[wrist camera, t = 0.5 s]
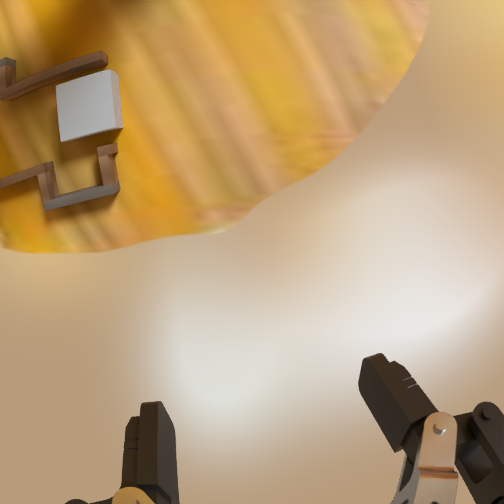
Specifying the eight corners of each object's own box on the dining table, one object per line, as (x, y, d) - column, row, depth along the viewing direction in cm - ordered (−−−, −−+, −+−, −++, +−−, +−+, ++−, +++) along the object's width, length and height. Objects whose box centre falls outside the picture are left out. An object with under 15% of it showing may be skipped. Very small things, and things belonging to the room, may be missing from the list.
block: (68, 89, 25) (55, 85, 21) (118, 75, 25) (110, 68, 22) (73, 140, 27) (60, 142, 24) (123, 127, 28) (115, 127, 25)
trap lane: (-38, 91, 20) (-50, 91, 17) (106, 25, 22) (100, 18, 20) (-19, 228, 27) (-29, 234, 25) (124, 188, 30) (119, 193, 28)
